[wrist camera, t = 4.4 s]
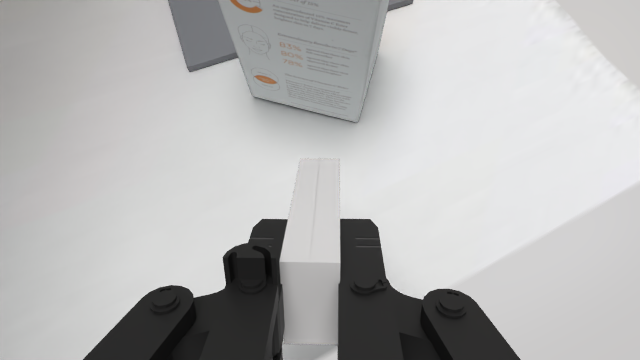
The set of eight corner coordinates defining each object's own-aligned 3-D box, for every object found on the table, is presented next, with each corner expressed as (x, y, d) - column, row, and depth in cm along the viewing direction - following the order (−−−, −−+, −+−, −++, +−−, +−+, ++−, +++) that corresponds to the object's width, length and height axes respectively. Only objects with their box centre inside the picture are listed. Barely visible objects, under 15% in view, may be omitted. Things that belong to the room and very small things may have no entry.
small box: (379, 48, 32) (416, -115, 19) (358, 125, 30) (383, 2, 18) (275, 23, 32) (245, -150, 20) (249, 97, 31) (198, -41, 18)
